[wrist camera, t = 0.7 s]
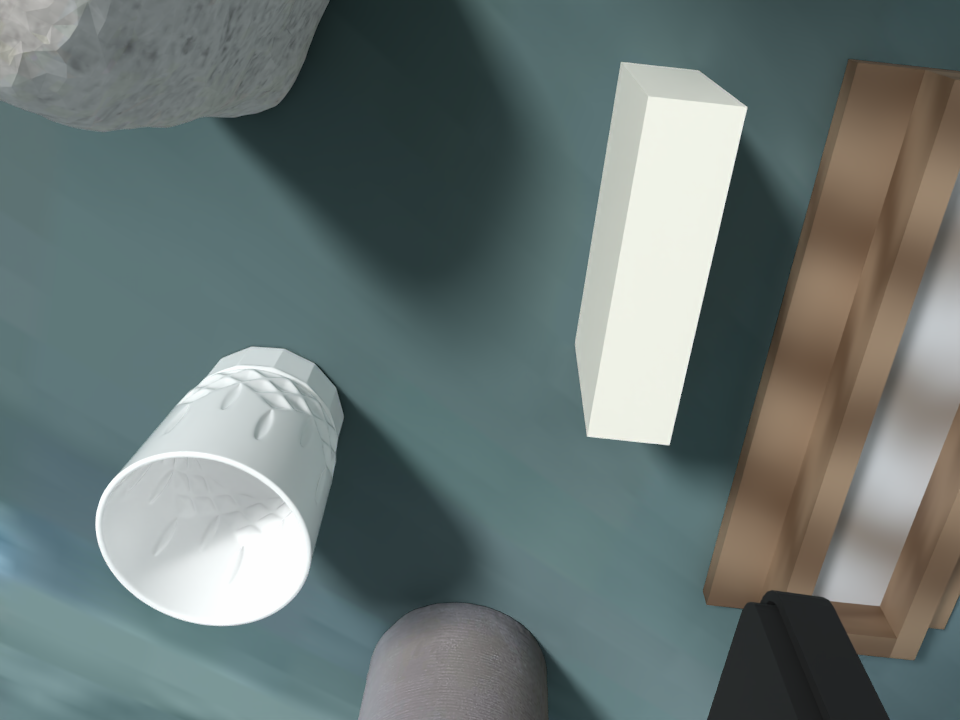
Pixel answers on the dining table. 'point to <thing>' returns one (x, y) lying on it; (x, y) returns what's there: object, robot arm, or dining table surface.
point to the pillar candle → (456, 668)
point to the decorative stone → (151, 58)
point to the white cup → (227, 492)
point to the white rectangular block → (653, 247)
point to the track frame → (863, 380)
